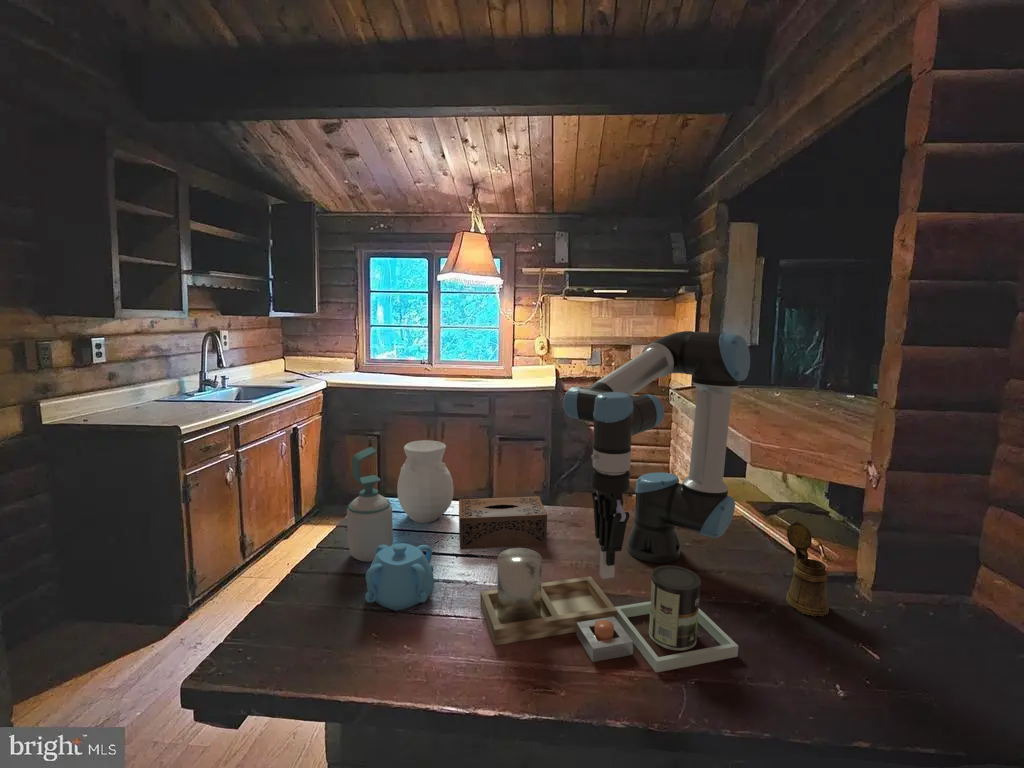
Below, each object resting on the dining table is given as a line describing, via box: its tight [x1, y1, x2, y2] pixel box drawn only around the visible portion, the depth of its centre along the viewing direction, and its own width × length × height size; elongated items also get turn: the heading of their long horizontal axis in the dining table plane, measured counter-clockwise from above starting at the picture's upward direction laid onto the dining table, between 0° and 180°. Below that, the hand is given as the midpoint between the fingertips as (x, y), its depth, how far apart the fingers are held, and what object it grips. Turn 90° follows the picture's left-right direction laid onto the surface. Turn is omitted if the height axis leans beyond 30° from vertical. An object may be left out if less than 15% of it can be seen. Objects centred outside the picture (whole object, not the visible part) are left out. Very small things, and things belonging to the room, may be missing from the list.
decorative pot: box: [364, 542, 435, 612], centre depth 129 cm, size 16×16×14 cm
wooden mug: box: [785, 520, 830, 617], centre depth 129 cm, size 9×14×18 cm, turn 179°
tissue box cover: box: [458, 495, 548, 550], centre depth 163 cm, size 26×14×10 cm, turn 97°
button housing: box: [575, 617, 634, 663], centre depth 113 cm, size 9×9×3 cm
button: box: [594, 620, 614, 641], centre depth 113 cm, size 4×4×4 cm
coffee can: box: [648, 565, 702, 652], centre depth 115 cm, size 10×10×14 cm
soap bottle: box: [346, 446, 394, 563], centre depth 149 cm, size 12×12×31 cm
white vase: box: [396, 439, 455, 524], centre depth 175 cm, size 19×18×25 cm
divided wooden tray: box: [479, 575, 617, 646], centre depth 123 cm, size 28×15×4 cm, turn 105°
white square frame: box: [614, 600, 739, 673], centre depth 116 cm, size 19×19×2 cm
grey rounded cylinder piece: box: [496, 547, 543, 624], centre depth 120 cm, size 10×10×14 cm
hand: (606, 576), depth 111 cm, fingers closed
